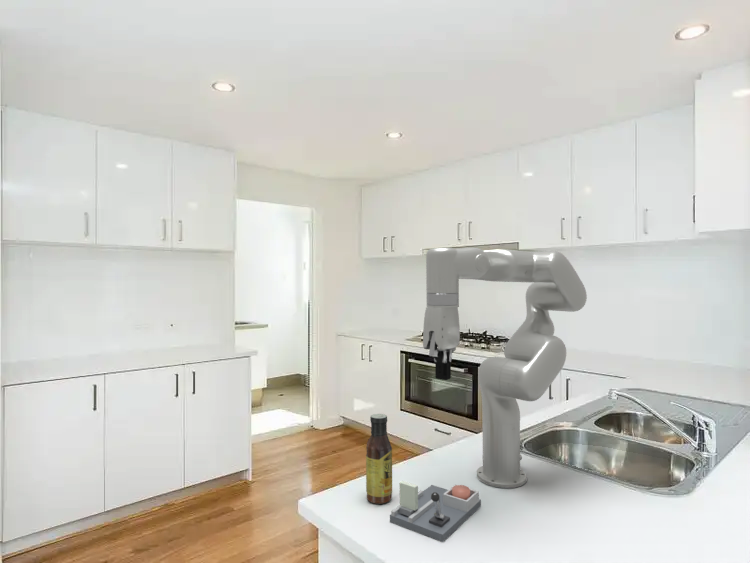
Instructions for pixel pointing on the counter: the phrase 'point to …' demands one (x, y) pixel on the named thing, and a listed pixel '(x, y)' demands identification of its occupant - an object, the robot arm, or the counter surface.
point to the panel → (424, 516)
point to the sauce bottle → (379, 462)
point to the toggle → (437, 506)
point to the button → (461, 492)
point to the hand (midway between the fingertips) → (443, 378)
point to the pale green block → (408, 498)
